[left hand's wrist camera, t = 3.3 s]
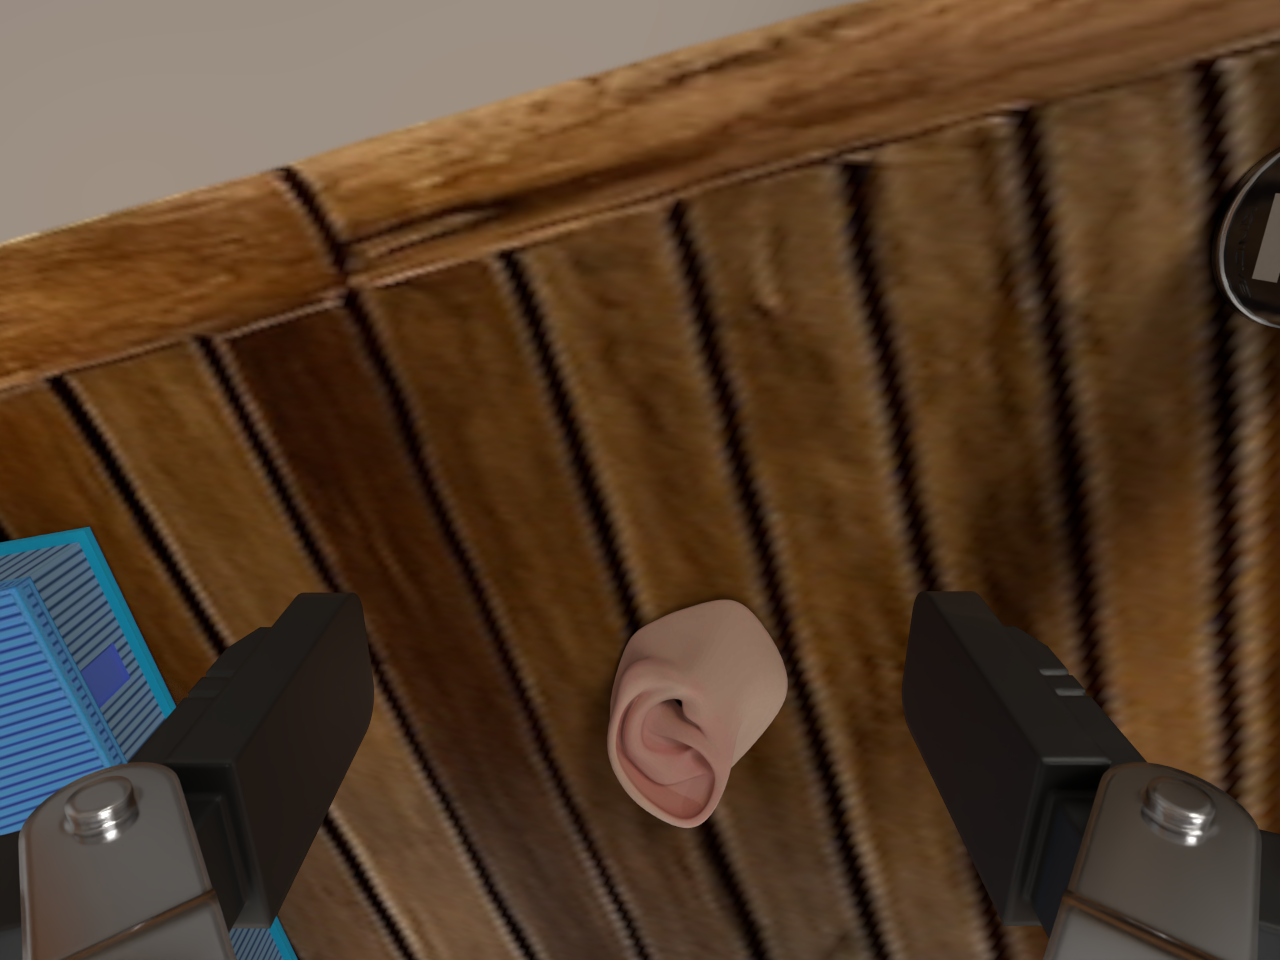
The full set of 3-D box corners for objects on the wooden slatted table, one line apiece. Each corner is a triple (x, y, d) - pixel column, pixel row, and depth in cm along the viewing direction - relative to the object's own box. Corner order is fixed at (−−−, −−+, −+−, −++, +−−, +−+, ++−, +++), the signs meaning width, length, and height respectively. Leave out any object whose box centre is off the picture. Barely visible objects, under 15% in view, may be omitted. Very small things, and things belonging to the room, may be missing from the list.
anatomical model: (709, 603, 43) (850, 723, 46) (703, 569, 46) (834, 682, 49) (547, 748, 46) (687, 851, 49) (554, 705, 50) (684, 803, 53)
